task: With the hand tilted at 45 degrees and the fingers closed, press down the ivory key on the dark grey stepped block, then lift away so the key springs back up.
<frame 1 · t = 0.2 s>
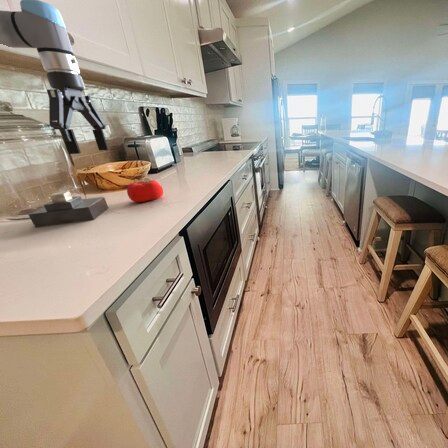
hand: (90, 151, 75), 18 cm above the countertop, tool pointing down, fingers open, 13 cm apart
tomato: (148, 200, 87), on the countertop
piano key: (61, 197, 69), point 7 cm above the countertop, slide at 0.1 cm
dark grey stepped block: (75, 217, 74), on the countertop
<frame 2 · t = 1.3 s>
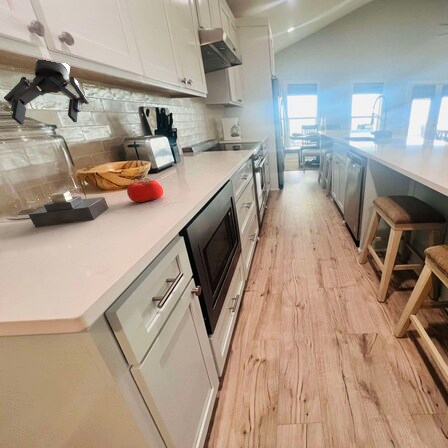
hand: (45, 120, 71), 28 cm above the countertop, tool tilted 45°, fingers open, 12 cm apart
nothing on the countertop moved.
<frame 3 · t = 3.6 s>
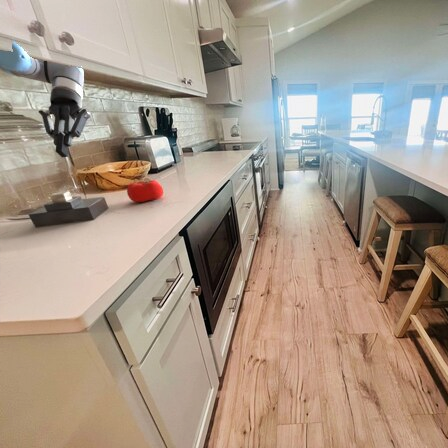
hand: (61, 154, 72), 18 cm above the countertop, tool tilted 45°, fingers closed
nothing on the countertop moved.
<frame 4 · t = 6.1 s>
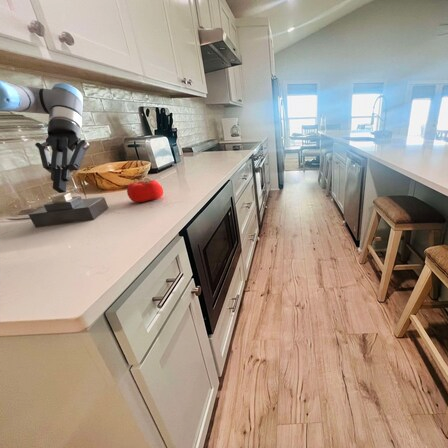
hand: (59, 190, 69), 9 cm above the countertop, tool tilted 45°, fingers closed
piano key: (62, 199, 69), point 6 cm above the countertop, slide at -0.4 cm, touching gripper
everything else where it was.
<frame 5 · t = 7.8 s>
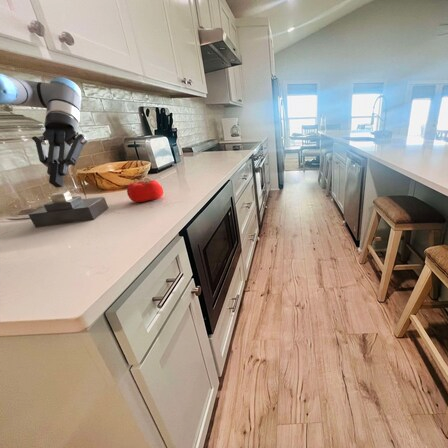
hand: (55, 184, 68), 11 cm above the countertop, tool tilted 45°, fingers closed
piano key: (61, 197, 69), point 7 cm above the countertop, slide at 0.1 cm
everything else where it was.
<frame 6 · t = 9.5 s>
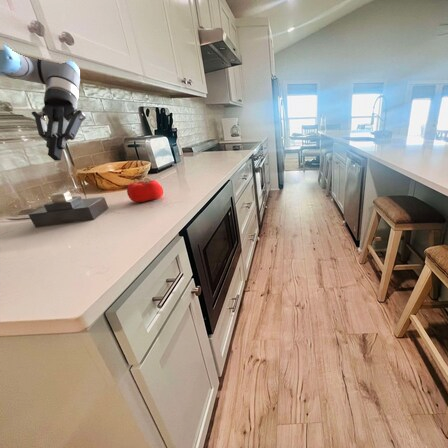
hand: (54, 157, 69), 17 cm above the countertop, tool tilted 45°, fingers closed
nothing on the countertop moved.
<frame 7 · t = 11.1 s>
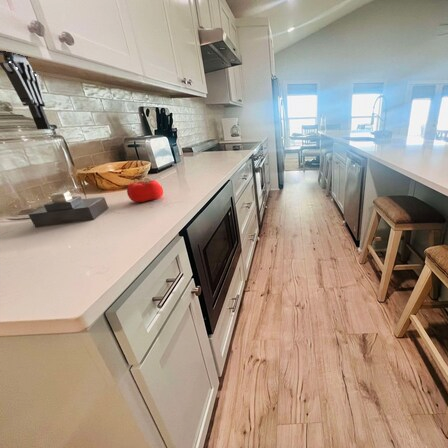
hand: (44, 129, 76), 25 cm above the countertop, tool pointing down, fingers closed
nothing on the countertop moved.
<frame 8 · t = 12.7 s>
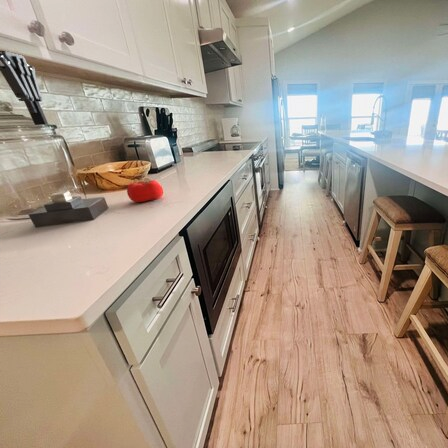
hand: (41, 124, 75), 26 cm above the countertop, tool pointing down, fingers closed
nothing on the countertop moved.
at the end: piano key pushed in 1.5 cm at the most during the clip, back to where it started at the end; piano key slide at 0.1 cm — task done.
